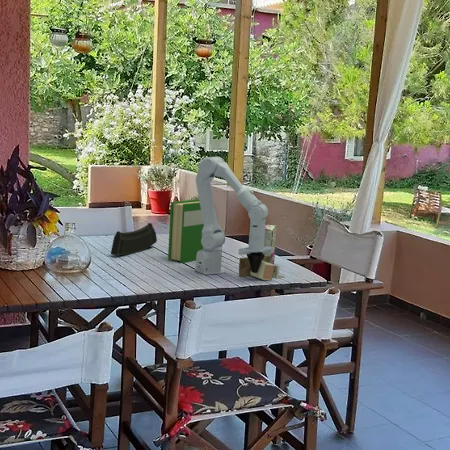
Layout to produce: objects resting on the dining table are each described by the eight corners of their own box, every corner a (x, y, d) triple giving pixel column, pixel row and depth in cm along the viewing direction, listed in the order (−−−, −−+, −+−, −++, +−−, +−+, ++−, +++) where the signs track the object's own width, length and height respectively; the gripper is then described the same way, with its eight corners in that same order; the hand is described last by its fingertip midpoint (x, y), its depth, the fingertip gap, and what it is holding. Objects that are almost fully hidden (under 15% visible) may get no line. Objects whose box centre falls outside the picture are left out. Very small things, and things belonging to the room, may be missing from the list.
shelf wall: (240, 276, 258) (241, 258, 257) (238, 276, 259) (239, 258, 258) (269, 273, 266) (270, 256, 265) (267, 273, 267) (268, 255, 266)
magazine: (114, 237, 273) (153, 208, 298) (107, 236, 275) (147, 208, 299) (120, 274, 280) (157, 244, 305) (113, 273, 282) (151, 243, 306)
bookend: (276, 278, 259) (277, 266, 259) (265, 274, 265) (265, 262, 264) (284, 277, 262) (285, 265, 261) (273, 273, 267) (273, 262, 266)
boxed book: (262, 279, 253) (266, 263, 253) (249, 274, 260) (252, 259, 259) (271, 280, 256) (274, 264, 255) (258, 275, 262) (261, 260, 262)
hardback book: (181, 263, 275) (184, 204, 271) (167, 260, 279) (170, 202, 275) (208, 257, 289) (212, 201, 285) (195, 254, 293) (198, 199, 289)
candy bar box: (262, 263, 284) (265, 224, 282) (274, 264, 283) (277, 225, 281) (258, 268, 274) (261, 228, 271) (270, 270, 273) (273, 229, 270)
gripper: (247, 239, 247) (245, 276, 249) (278, 237, 255) (276, 273, 257) (236, 236, 252) (233, 272, 254) (267, 234, 260) (264, 269, 263)
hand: (254, 272), depth 256 cm, fingers closed
